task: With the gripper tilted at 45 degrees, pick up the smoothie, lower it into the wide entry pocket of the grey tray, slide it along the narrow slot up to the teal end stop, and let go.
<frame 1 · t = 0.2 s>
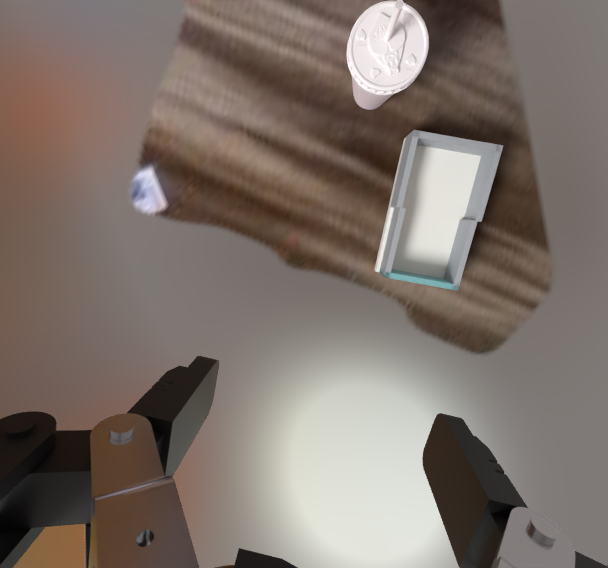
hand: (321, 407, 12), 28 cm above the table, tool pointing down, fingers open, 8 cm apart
smoothie: (370, 91, 36), on the table
grey tray: (426, 214, 38), on the table
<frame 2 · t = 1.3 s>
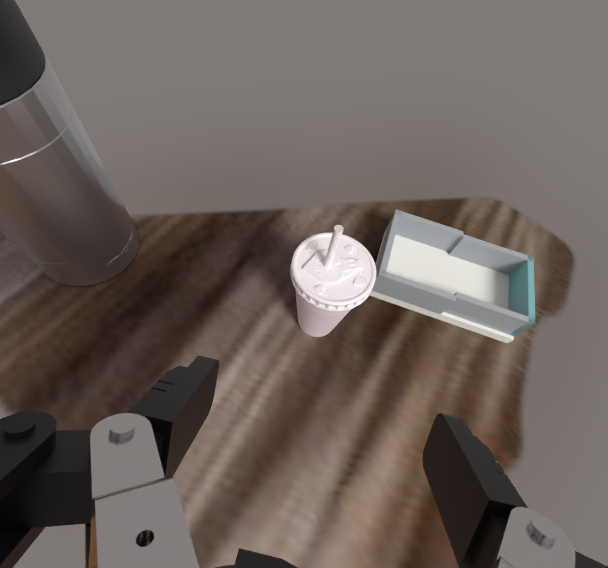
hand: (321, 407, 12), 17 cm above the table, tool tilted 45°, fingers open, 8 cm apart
smoothie: (316, 319, 33), on the table
grey tray: (441, 283, 36), on the table
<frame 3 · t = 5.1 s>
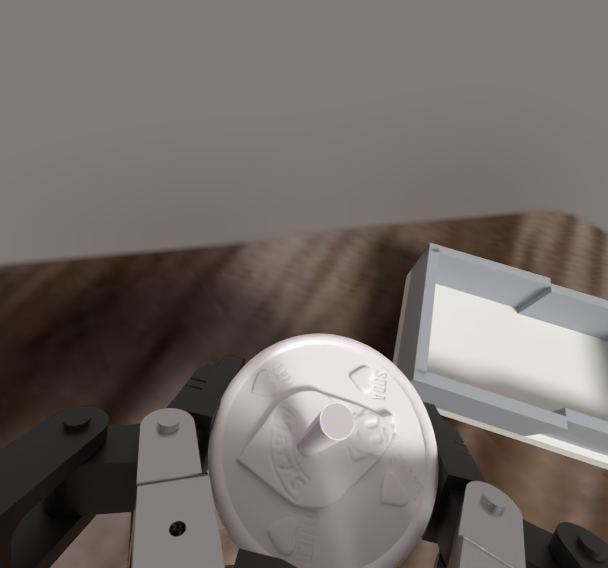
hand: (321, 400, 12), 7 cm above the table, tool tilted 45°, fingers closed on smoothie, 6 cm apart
smoothie: (296, 459, 17), on the table, touching gripper
grey tray: (510, 366, 21), on the table
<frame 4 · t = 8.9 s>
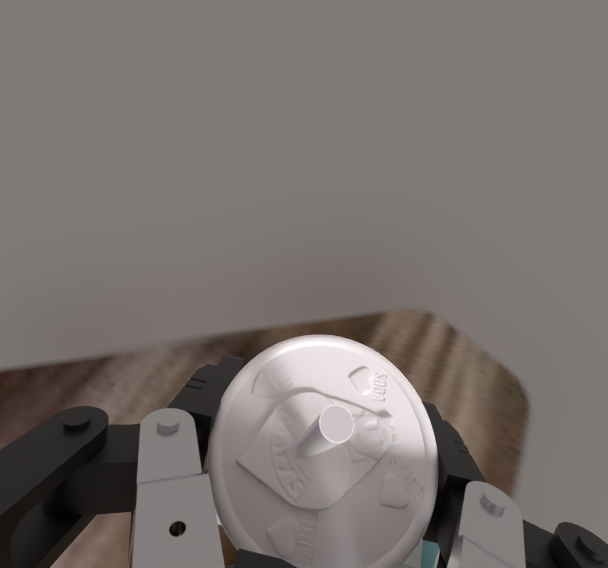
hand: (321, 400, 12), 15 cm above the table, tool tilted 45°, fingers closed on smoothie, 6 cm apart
smoothie: (296, 459, 17), point 8 cm above the table, touching gripper
grey tray: (330, 476, 24), on the table
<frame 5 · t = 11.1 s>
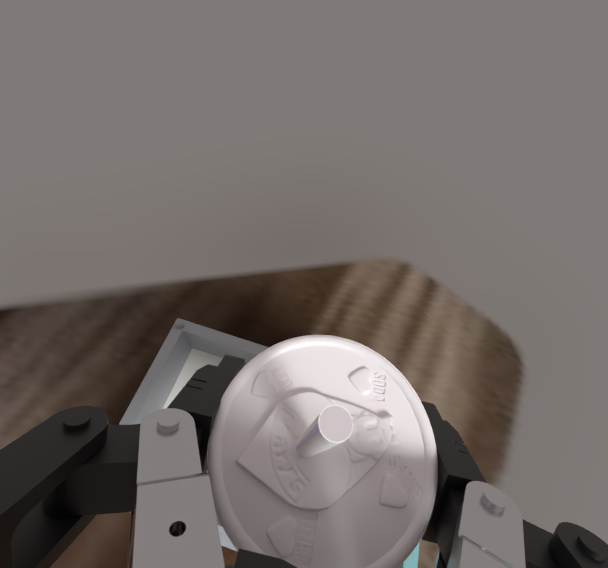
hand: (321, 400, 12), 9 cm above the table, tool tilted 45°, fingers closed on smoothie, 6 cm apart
smoothie: (296, 459, 17), point 2 cm above the table, touching gripper
grey tray: (273, 447, 20), on the table
when the fingers open (9 cm above the table, at t = 13.0 s): smoothie stays where it is, resting on grey tray.
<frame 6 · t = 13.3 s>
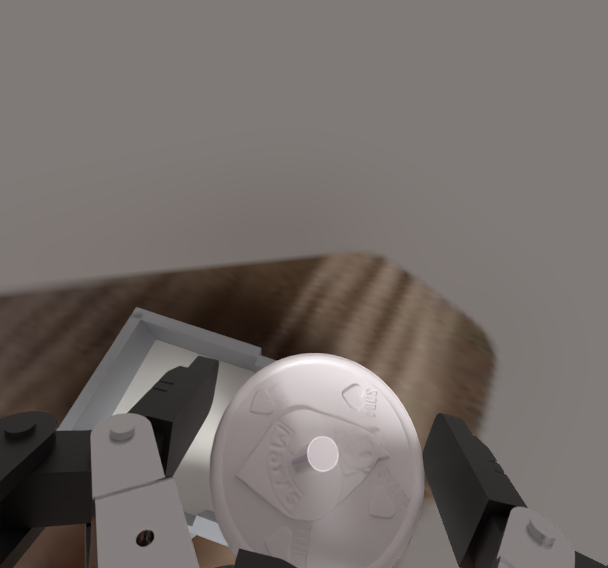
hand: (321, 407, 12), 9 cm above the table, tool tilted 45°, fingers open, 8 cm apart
smoothie: (295, 464, 18), point 1 cm above the table, touching grey tray
grey tray: (235, 440, 19), on the table
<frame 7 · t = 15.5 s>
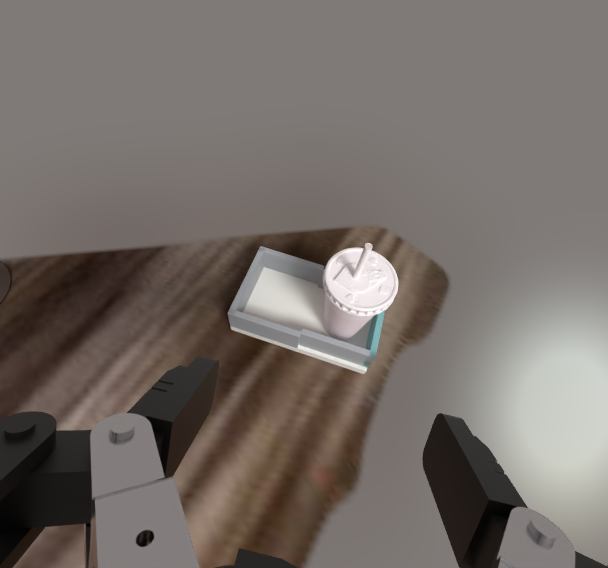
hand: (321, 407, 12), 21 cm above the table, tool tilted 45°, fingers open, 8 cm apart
smoothie: (340, 324, 36), point 1 cm above the table, touching grey tray
grey tray: (308, 316, 37), on the table
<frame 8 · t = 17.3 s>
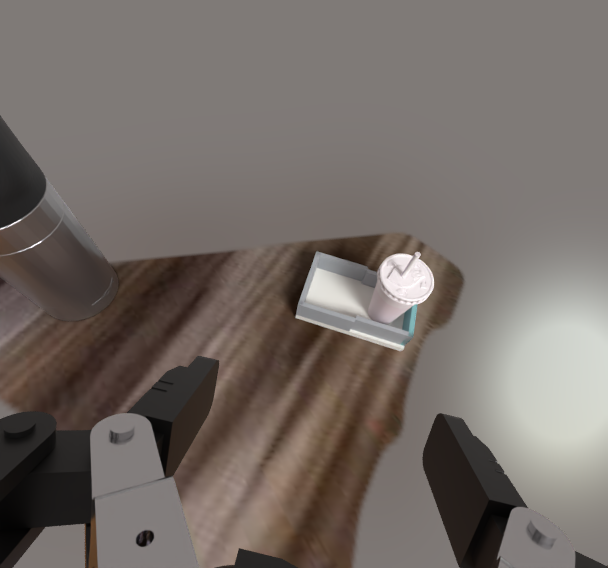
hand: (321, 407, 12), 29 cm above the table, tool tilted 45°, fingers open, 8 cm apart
smoothie: (380, 313, 46), point 1 cm above the table, touching grey tray
grey tray: (354, 306, 47), on the table
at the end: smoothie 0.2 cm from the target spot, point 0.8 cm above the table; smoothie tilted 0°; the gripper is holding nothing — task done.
